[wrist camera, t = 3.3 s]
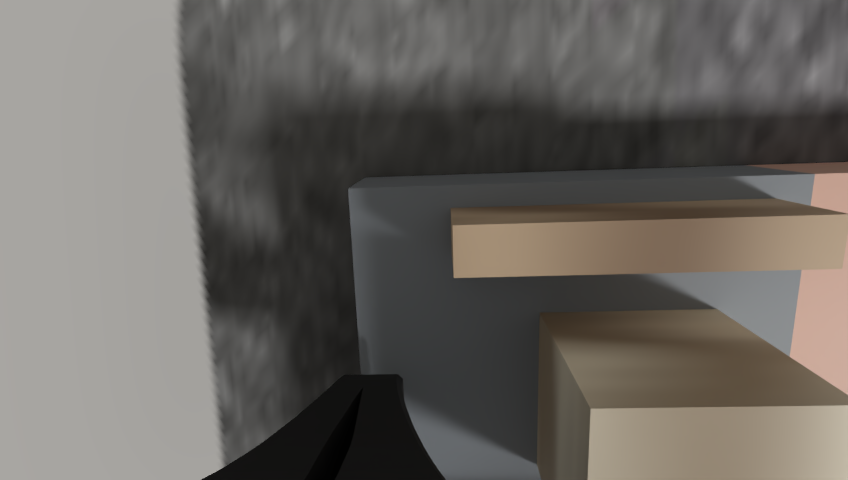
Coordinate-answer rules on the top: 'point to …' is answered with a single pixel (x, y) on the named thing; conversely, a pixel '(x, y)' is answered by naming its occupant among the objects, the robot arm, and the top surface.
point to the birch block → (680, 401)
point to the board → (556, 297)
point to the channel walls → (646, 238)
